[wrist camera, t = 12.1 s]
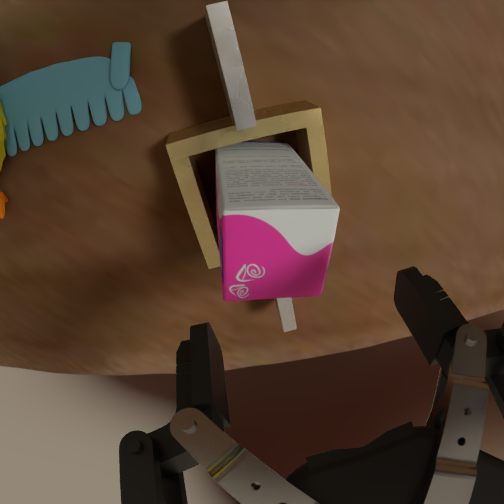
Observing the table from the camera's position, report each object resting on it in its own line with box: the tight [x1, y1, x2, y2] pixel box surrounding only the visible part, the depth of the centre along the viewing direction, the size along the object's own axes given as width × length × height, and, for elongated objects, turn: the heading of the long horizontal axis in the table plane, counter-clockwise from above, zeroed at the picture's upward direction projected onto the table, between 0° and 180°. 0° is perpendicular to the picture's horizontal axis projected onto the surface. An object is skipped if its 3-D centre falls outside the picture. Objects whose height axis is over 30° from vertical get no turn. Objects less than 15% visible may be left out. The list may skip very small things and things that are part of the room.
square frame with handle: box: [166, 1, 332, 332], centre depth 23 cm, size 26×10×5 cm, turn 12°
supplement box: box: [215, 141, 340, 301], centre depth 21 cm, size 6×6×12 cm
